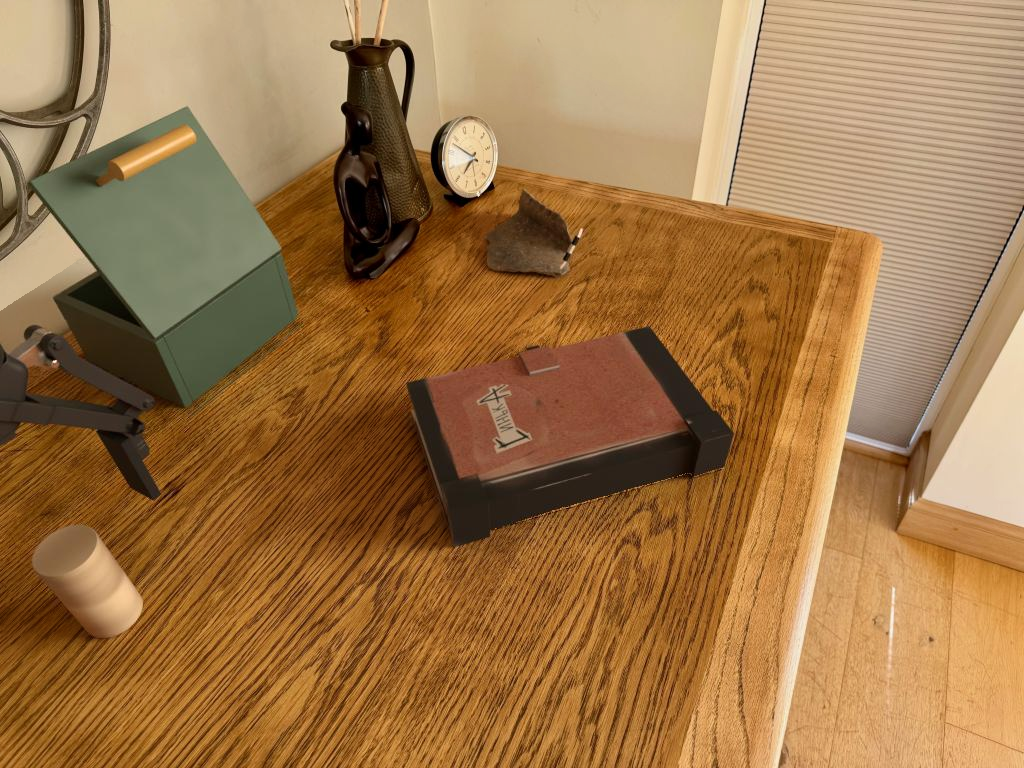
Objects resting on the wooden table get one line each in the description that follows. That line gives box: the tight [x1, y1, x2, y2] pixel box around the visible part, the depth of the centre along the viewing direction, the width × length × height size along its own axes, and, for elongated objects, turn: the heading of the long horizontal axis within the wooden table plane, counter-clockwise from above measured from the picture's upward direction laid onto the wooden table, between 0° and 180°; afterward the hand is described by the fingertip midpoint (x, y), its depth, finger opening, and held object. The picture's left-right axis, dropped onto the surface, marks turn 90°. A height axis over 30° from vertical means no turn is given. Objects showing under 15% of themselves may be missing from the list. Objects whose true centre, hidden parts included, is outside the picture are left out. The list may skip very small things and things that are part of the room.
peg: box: [31, 524, 144, 639], centre depth 55 cm, size 4×4×9 cm
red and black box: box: [405, 325, 735, 548], centre depth 69 cm, size 26×18×5 cm
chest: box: [52, 251, 302, 418], centre depth 79 cm, size 15×17×10 cm
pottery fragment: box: [485, 188, 584, 278], centre depth 95 cm, size 18×11×5 cm
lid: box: [27, 106, 283, 339], centre depth 67 cm, size 16×17×6 cm
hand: (70, 556), depth 52 cm, fingers open, 13 cm apart
